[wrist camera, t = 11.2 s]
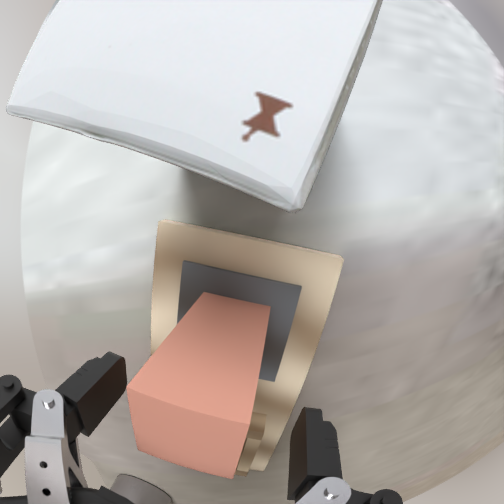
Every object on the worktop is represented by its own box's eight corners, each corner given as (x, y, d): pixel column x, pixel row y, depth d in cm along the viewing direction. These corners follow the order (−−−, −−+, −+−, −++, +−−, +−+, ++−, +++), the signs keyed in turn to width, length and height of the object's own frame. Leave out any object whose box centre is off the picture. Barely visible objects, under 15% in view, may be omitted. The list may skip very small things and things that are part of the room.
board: (264, 464, 21) (261, 486, 18) (159, 436, 22) (148, 456, 19) (340, 255, 16) (351, 269, 13) (165, 219, 17) (142, 225, 14)
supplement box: (337, 94, 14) (414, -60, 1) (289, 202, 15) (300, 239, 3) (226, 55, 14) (140, -88, 2) (178, 156, 16) (-6, 118, 3)
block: (258, 361, 16) (232, 478, 8) (197, 346, 17) (138, 449, 8) (270, 306, 16) (249, 424, 7) (203, 291, 16) (126, 386, 7)
